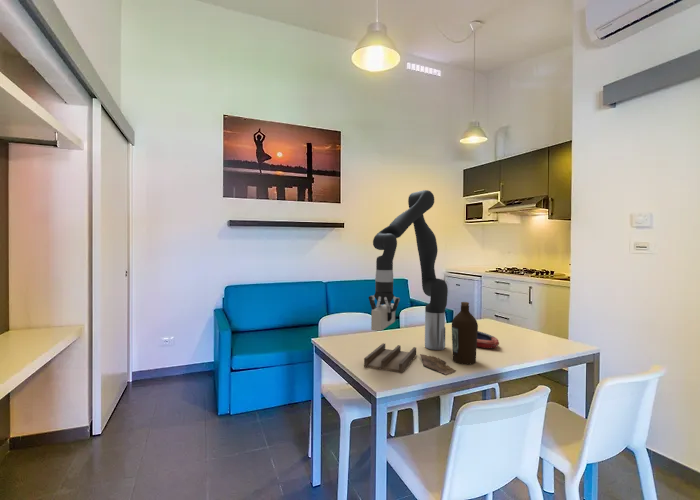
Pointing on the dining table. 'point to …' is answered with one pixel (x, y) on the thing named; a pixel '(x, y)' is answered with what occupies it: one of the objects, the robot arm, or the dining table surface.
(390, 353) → the rack
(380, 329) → the gray rectangular block
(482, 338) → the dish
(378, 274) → the robot arm
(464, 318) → the olive oil
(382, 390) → the dining table surface
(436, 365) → the wooden fragment
